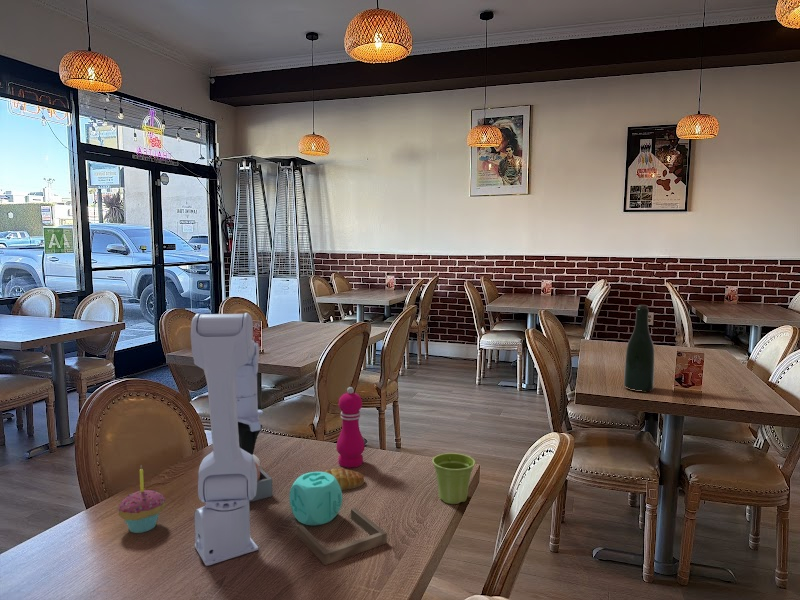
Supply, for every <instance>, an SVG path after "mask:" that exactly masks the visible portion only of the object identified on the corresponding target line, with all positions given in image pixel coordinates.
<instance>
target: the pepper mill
mask: <svg viewBox="0 0 800 600" xmlns="http://www.w3.org/2000/svg"><path fill="white" fill-rule="evenodd" d="M338 407H339V410H340V411H341V412H340V418H341V420H342V425H341V430H340V433H339V436H338V438H337V441H336V451H337V452H338V454H339V455H338V459H337V460H338V461H337V462H338V465H339V466H341V468H345V467H348V468H347V469H352V468H351V467H354V468H357V467H361V466H362V465H363V464H362V463H364V456H363V453H364V452H365V441H364V437H363V435H362V433H361V430H360V425H359V423H360V422H359V420H360V418H361V411H360V410H361V408H362V407H363V399H362V397H361V396H360V395H359V394H358V393H356V392H355V390H354V388H353V387H352V386H348V387H347V390H346V393H343V394H342V395H341V396H340V397H339V399H338ZM361 464H362V465H361Z"/></svg>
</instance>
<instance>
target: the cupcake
mask: <svg viewBox="0 0 800 600" xmlns="http://www.w3.org/2000/svg"><path fill="white" fill-rule="evenodd" d="M144 482H145V481H144V469H143V466H142V464H141V465H140V469H139V488H140V489H139V490H137V491H134V492H132V493H130V494H128V495H127V496H125V497H124V498H123V500H120V502H119V504H118V507H117V509H118V517H119V518H121V519H122V520H124V522H126V525H127V527H128V531H129V532H131V533H134V534H142V533H145V532H149V531H151V530H153V529H154V528H155V527H156V525H157V521H158V517H159V515H160V513H161V512H162V511H163V510H164V509H165V507H166V505H167V504H166V503H167V502H166V497H165V496H164V495H163V494H162V493H160V492H159V491H156V490H153V489H145V488H144V487H145V486H144V485H145V483H144Z"/></svg>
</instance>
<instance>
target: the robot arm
mask: <svg viewBox="0 0 800 600" xmlns="http://www.w3.org/2000/svg"><path fill="white" fill-rule="evenodd" d="M253 323H254V322H253V316H251V314H250V313H249V312H244V313H214V314H213V313H206V314H205V313H204V314H203V313H196V314H195V315H194V316H193V317H192V319H191V323H190V343H191V354H192V355H191V356H192V359H193V364H194V365H195V366H197V367H198V368H200V369H202V370H203V372H204V373H203V374H204V376H205V380H206V385H207V396H208V408H209V409H208V411H209V419H210V421H209V422H210V431H211V442H212V451H211V452H210V453H208V454H207V455H206V456H205V457H204V458H203V459H202V460H201V462H200V465H199V467H198V480H197V481H198V482H197V496H198V498H199V500H200V501H201V503H203V504H204V503H205V505H204V506H201V507H200V508H196V509H195V512H194V536H195V540H194V542H195V543H194V548H195V550H196V551H197V553H198V555H199V556H200V558H201V560H202V562H203V563H204V565H205V566H207V567H208V566H211V565H214V564H218V563H221V562H224V561H227V560H230V559H234V558H237V557H240V556H243V555H246V554H249V553H252V552H255V551H258V549H259V547H258V545H257V543H255V542H254V540H253V539H252V538H251V522H250V521H251V520H250V517H251V516H250V502H249V500H252V499H253V498H254V497H255V496H256V491H257V469H256V466H255V459H254V458H253V454H254V452H255V446H256V443H257V439H258V436H259V434H260V432H261V430H262V427H263V425H262V424H261V422H262V421H260V416H261V415H263V414H264V411H263V410H262V409H259V407H258V373H259V372H258V371H259V362H260V346H259V342H255V340H254V338H253V336H254V324H253Z"/></svg>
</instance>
